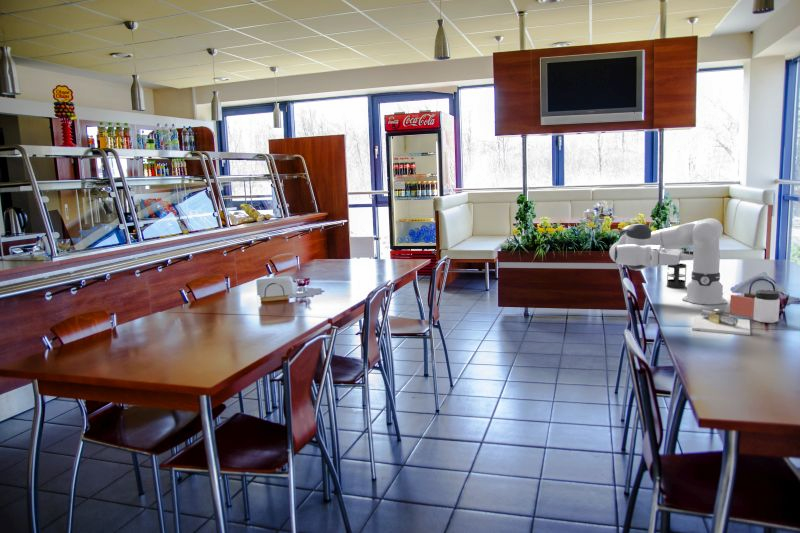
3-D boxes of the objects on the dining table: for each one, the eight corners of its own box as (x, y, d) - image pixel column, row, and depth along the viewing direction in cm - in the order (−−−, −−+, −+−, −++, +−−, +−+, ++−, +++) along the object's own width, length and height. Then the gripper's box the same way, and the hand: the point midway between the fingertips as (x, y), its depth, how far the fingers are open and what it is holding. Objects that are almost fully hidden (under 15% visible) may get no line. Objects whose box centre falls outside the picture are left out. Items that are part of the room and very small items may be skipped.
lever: (711, 312, 254) (712, 292, 253) (718, 311, 256) (719, 291, 255) (748, 320, 240) (749, 299, 239) (755, 318, 242) (756, 298, 240)
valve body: (698, 318, 261) (699, 309, 260) (708, 316, 262) (709, 308, 262) (729, 326, 245) (729, 318, 245) (739, 325, 247) (740, 317, 246)
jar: (770, 324, 252) (772, 294, 251) (749, 320, 259) (751, 291, 257) (781, 320, 257) (783, 292, 255) (761, 317, 264) (763, 289, 262)
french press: (686, 289, 327) (688, 245, 323) (667, 288, 330) (669, 244, 327) (684, 285, 338) (686, 242, 334) (665, 284, 341) (667, 242, 337)
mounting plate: (695, 317, 265) (695, 315, 265) (749, 322, 256) (749, 319, 256) (691, 330, 246) (692, 327, 246) (750, 335, 237) (750, 332, 236)
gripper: (658, 260, 263) (694, 261, 257) (652, 267, 246) (691, 269, 239) (658, 245, 262) (695, 246, 256) (653, 251, 245) (692, 252, 238)
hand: (693, 257), depth 247 cm, fingers closed
